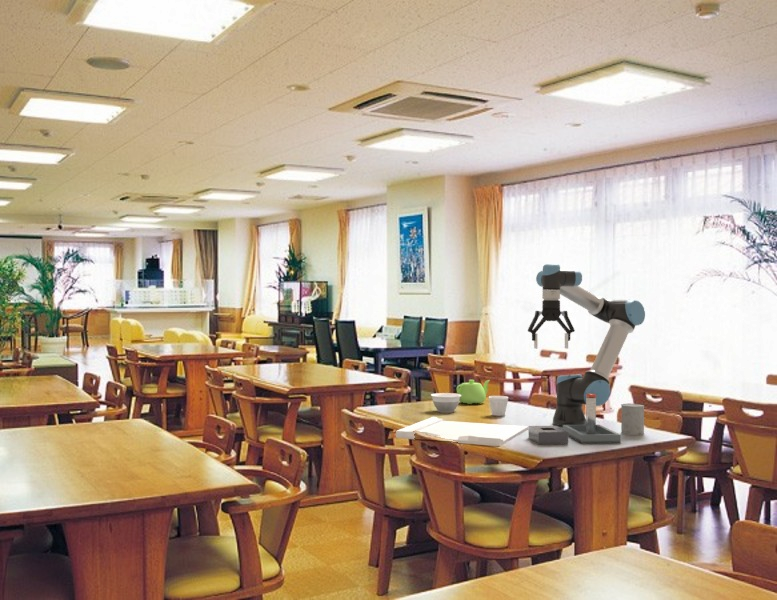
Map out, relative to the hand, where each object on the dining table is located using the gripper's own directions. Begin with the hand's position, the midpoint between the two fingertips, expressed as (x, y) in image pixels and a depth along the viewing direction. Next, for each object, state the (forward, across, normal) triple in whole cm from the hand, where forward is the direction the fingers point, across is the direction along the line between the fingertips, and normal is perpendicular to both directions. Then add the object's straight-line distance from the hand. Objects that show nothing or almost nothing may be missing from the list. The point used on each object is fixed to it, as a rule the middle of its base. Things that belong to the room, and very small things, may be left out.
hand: (551, 348), depth 347 cm
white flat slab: (+38, -38, +1) cm, 53 cm away
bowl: (+37, -36, +68) cm, 85 cm away
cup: (+37, -12, +52) cm, 65 cm away
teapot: (+37, -16, +99) cm, 107 cm away
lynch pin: (+36, +13, -14) cm, 40 cm away
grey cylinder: (+37, +35, -4) cm, 51 cm away
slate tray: (+37, +13, -14) cm, 41 cm away
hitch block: (+37, -7, -20) cm, 42 cm away
